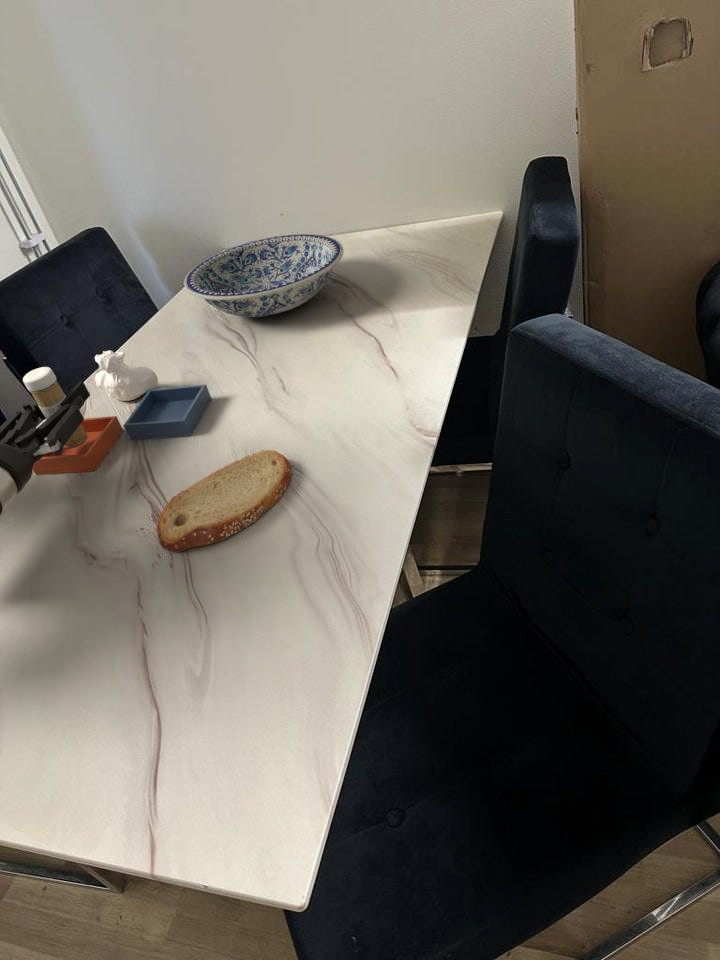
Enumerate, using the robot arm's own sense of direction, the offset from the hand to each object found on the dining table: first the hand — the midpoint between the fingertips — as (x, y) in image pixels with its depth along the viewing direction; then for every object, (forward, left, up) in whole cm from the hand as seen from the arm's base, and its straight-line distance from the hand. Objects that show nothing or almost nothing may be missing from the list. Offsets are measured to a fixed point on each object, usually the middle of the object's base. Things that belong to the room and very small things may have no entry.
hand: (71, 389), depth 111 cm
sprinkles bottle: (0, -5, -7) cm, 9 cm away
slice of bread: (+32, -20, -9) cm, 39 cm away
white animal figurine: (+2, +12, -9) cm, 15 cm away
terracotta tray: (0, -5, -9) cm, 11 cm away
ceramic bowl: (+22, +46, -9) cm, 52 cm away
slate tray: (+14, +3, -9) cm, 17 cm away
